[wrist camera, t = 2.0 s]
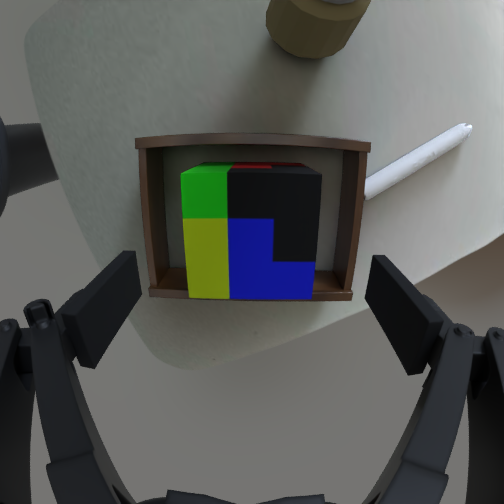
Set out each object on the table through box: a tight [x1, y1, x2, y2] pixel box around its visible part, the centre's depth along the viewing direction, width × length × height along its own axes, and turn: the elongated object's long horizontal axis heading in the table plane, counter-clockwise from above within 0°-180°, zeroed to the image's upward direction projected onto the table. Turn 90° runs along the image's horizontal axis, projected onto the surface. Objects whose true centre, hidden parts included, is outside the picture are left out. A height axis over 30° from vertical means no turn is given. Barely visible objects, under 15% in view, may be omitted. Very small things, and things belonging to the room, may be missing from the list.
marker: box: [364, 123, 472, 201], centre depth 27 cm, size 18×2×2 cm, turn 123°
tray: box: [135, 133, 371, 301], centre depth 29 cm, size 21×16×6 cm
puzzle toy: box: [180, 162, 322, 299], centre depth 27 cm, size 10×10×10 cm
